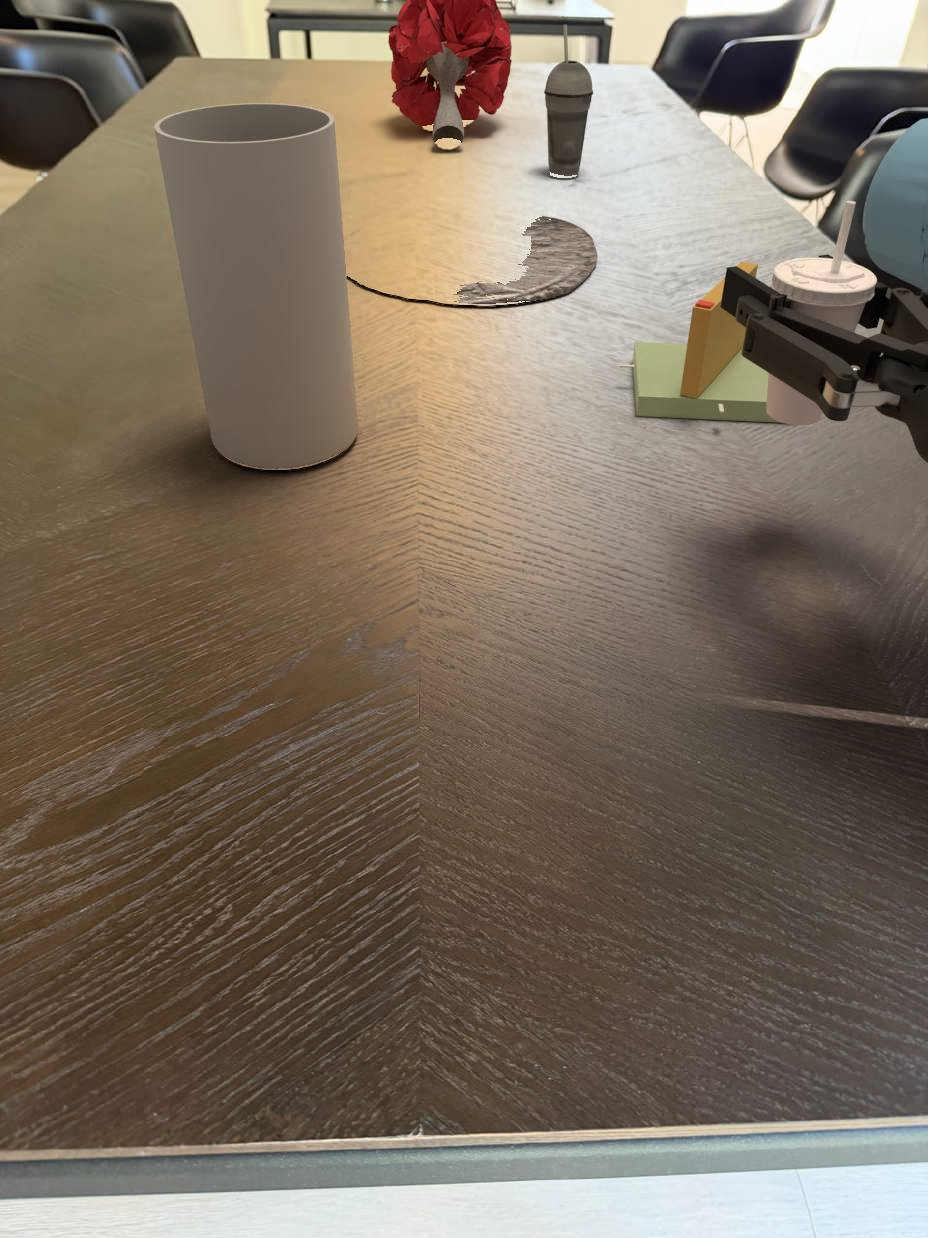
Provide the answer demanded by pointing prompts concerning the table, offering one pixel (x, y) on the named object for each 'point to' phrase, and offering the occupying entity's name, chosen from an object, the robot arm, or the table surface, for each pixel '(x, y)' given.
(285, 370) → the cylinder vase
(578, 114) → the beverage cup
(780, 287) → the smoothie
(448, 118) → the bouquet
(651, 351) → the flat green base panel
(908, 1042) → the table surface
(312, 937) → the table surface
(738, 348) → the red-tabbed upright panel
